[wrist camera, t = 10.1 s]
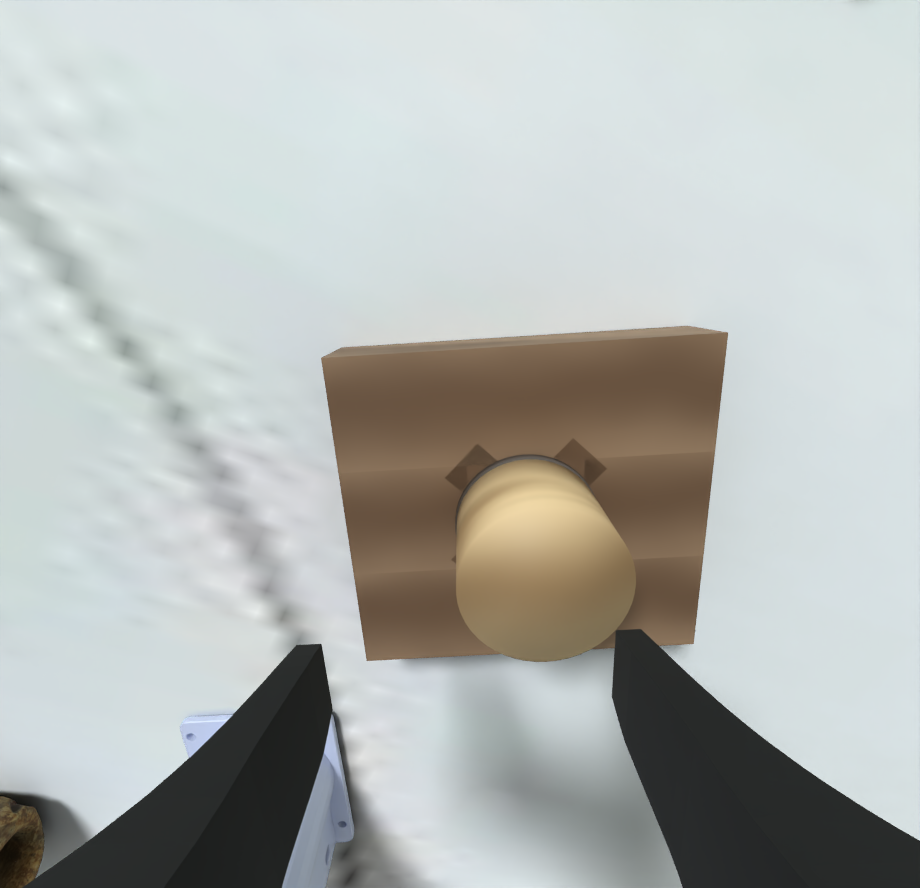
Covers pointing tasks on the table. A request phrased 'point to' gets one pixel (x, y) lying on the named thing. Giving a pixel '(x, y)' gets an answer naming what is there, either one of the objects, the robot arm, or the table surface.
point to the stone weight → (19, 843)
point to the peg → (539, 561)
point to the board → (517, 433)
